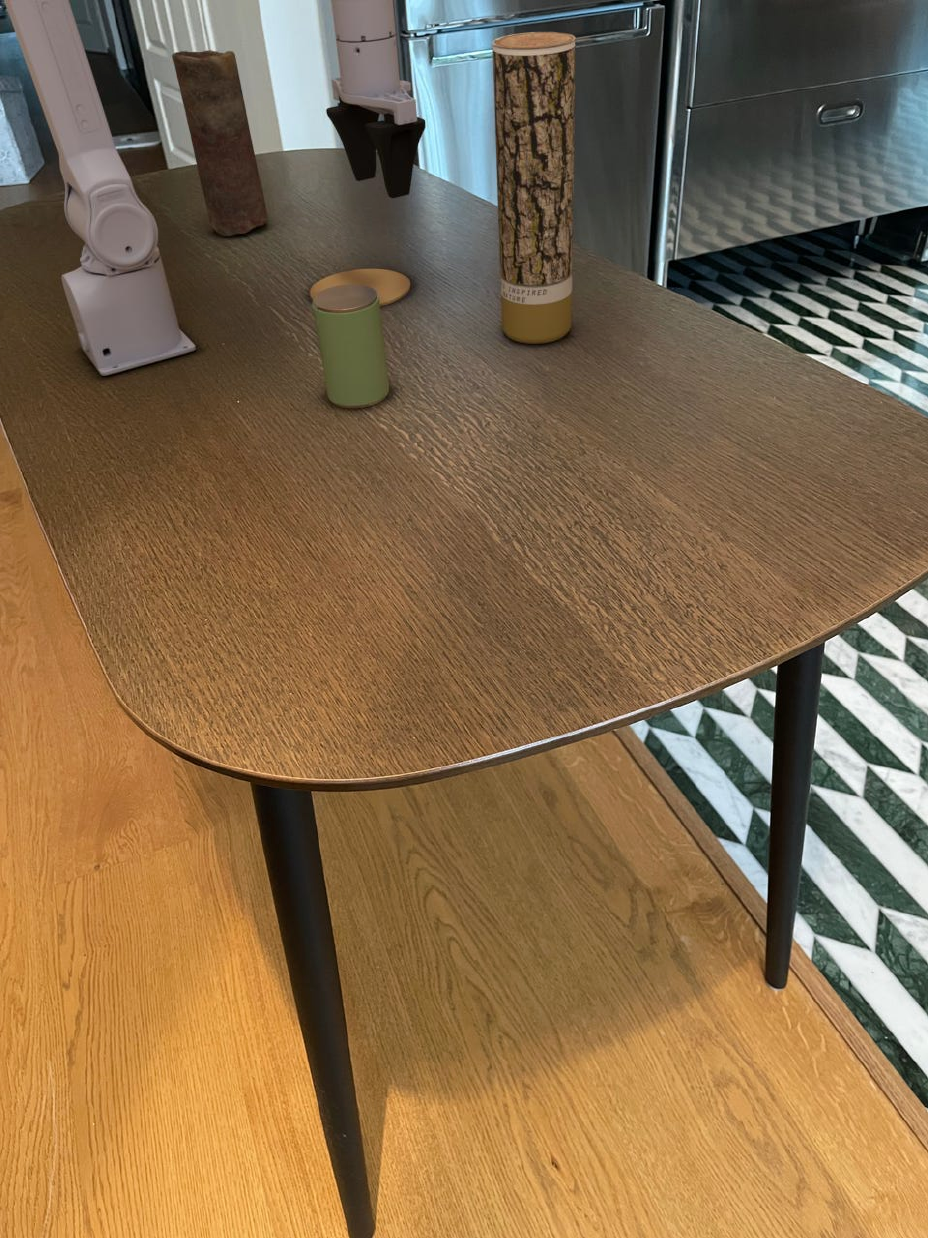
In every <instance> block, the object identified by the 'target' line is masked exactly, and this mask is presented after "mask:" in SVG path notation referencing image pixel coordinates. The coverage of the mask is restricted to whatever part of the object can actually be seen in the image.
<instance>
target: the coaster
mask: <svg viewBox="0 0 928 1238" xmlns="http://www.w3.org/2000/svg"><path fill="white" fill-rule="evenodd" d="M351 284H352V285H364V286H368V287H371V288H373V289H374V290H375V291H376V292H377V295H378V297H379V305H380V307H383V306H384V307H385V306H386V305H390V304H392V303H396V302H397V301H399V300H401V299H402V298H404V297H405V296H406V295H407V294H408V293H409V292H410V290H411V281H410V279H409V277H407V276H406V275H404V274H403V273H400V272H398V271H394V270H390V269H384V268H357V269H350V270H345V271H341V272H337V273H334V274H333V273H332V274H331V275H328V276H326V277H323V278H321V279H320V280H318V281H317V282H315V283H314V284H313V285H312V286H311V288H310V290H309V296H310V300H311V301H312V302H313V298H314V296H315V295H316V294H318V293H319V292H321V291H323V290H325V289H328V288H331V287H335V286H340V285H351Z"/></svg>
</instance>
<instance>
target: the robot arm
mask: <svg viewBox="0 0 928 1238" xmlns="http://www.w3.org/2000/svg"><path fill="white" fill-rule="evenodd" d="M3 2H4V5H5V7H6V10H7V13H8V17H9V18H10V21H11V25H12V27H13V29H14V33H15V36H16V37H17V41H18V44H19V46H20V49H21V52H22V55H23V57H24V58H23V59H24V61H25V63H26V66H27V69H28V72H29V74H30V77H31V81H32V83H33V86H34V88H35V91H36V95H37V97H38V100H39V103H40V105H41V108H42V111H43V114H44V116H45V119H46V123H47V125H48V128H49V132H50V133H51V136H52V139H53V142H54V144H55V147H56V150H57V152H58V160H59V161H58V162H59V171H60V174H61V177H62V180H63V184H64V189H65V194H64V203H63V211H64V215H65V219H66V222H67V223H68V225H69V227H70V228H71V230H72V231H73V232H74V234H75V235H77V236H78V237H79V238H80V239H82V240H83V241H84V243H85V244H84V245H83V247H82V252H81V257H79V258H80V259H79V260H80V264H81V266H79V267H78V268H76V269H74V270H72V271H69V272H66V273H64V274H62V275H61V284H62V288H63V291H64V295H65V297H66V301H67V303H68V306H69V310H70V312H71V315H72V319H73V321H74V324H75V328H76V331H77V336H78V340H79V343H80V345H81V349H82V350H83V352H84V354H86V356H87V357H88V359H89V360H90V362H91V363H92V365H93V366H94V368H95V369H96V371H98V373H99V374H100V375H101V376H103V377H106V376H110V375H114V374H117V373H121V372H124V371H128V370H131V369H132V370H133V369H135V368H138V367H142V366H147V365H149V364H153V363H155V362H160V361H163V360H167V359H171V358H175V357H177V356H181V355H185V354H188V353H191V352H192V353H193V352H195V351H196V349H197V348H196V345H195V344H194V342H193V341H192V340H191V339H190V338H189V337H188V336H187V335H186V333H184V332H183V331H182V330H181V329H180V326H179V323H178V318H177V315H176V312H175V311H176V310H175V307H174V302H173V299H172V295H171V291H170V288H169V283H168V280H167V276H166V272H165V268H164V264H163V260H162V256H161V254H160V249H159V247H158V242H159V229H158V228H159V227H158V225H157V221H156V219H155V217H154V215H153V214H152V212H151V211H150V210H149V209H148V208H147V206H146V205H145V204H143V202H142V201H141V200H140V198H139V197H138V195H137V193H136V190H135V187H134V184H133V181H132V178H131V175H130V174H129V172H128V170H127V168H126V166H125V164H124V162H123V160H122V158H121V156H120V154H119V152H118V149H117V148H116V144H115V141H114V138H113V135H112V132H111V128H110V125H109V121H108V119H107V116H106V113H105V109H104V107H103V104H102V100H101V97H100V94H99V91H98V88H97V85H96V81H95V79H94V75H93V71H92V69H91V65H90V63H89V60H88V56H87V52H86V50H85V47H84V44H83V40H82V37H81V35H80V32H79V28H78V25H77V22H76V18H75V16H74V15H75V14H74V12H73V10H72V6H71V3H70V0H3ZM330 2H331V10H332V17H333V26H334V33H335V43H336V50H337V51H336V52H337V59H338V67H339V68H338V69H339V76H337V77H333V78H331V79H330V82H331V87H332V95H333V100H335V101H339V102H337V105H335V106H331V107H328V108H326V109H325V112H326V116H327V117H328V119H329V120H330V122H331V124H332V126H334V128H335V130H336V132H337V135H338V137H339V138H340V140H341V143H342V146H343V147H344V148H343V149H344V151H345V153H346V156H347V160H348V162H349V166H350V169H351V171H352V174H353V176H354V179H355V181H357V182H361V181H367V180H370V179H374V178H376V174H377V156H378V159H379V163H380V168H381V173H382V179H383V183H384V187H385V190H386V193H387V196H388V197H389V198H390V199H397V198H401V197H404V196H409V195H410V191H411V185H412V179H413V178H412V177H413V169H414V165H415V164H414V163H415V158H416V154H417V150H418V147H419V144H420V141H421V138H422V136H423V134H424V132H425V130H426V128H427V127H426V126H427V125H426V119H424V118H422V117H419V116H418V111H417V100H416V98H414V97H411V96H410V95H409V93H408V92H410V91H411V90H412V84H411V82H410V81H406V80H402V79H400V67H399V54H398V44H397V31H396V21H395V9H394V0H330ZM380 115H382V116H383V119H382V120H379V119H380Z"/></svg>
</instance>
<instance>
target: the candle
mask: <svg viewBox="0 0 928 1238" xmlns="http://www.w3.org/2000/svg"><path fill="white" fill-rule="evenodd" d="M171 57H172V62H173V65H174V71H175V74H176V79H177V83H178V88H179V91H180V96H181V101H182V104H183V105H182V106H183V108H184V114H185V117H186V122H187V127H188V130H189V135H190V140H191V144H192V149H193V155H194V158H195V162H196V168H197V172H198V176H199V180H200V185H201V189H202V195H203V199H204V203H205V207H206V211H207V216H208V220H209V224H210V227H211V228H212V230H214V231H215V232H216V233H217V234H218V235H219V236H221V237H233V236H236V235H245V234H247V233H249V232H250V231H251V230H252V229H256V228H259V227H262V226H263V225H264V224H265V223H266V222H267V220H268V212H267V205H266V201H265V197H264V191H263V186H262V181H261V176H260V172H259V168H258V163H257V157H256V153H255V150H254V149H255V147H254V144H253V138H252V134H251V129H250V124H249V118H248V114H247V109H246V104H245V98H244V94H243V93H244V92H243V88H242V84H241V83H242V82H241V79H240V74H239V68H238V63H237V58H236V54H235V52H234V51H233V50H232V51H231V50H227V51H225V52H220V51H217V50H212V49H211V50H210V49H209V50H204V51H203V50H202V51H178V52H177V51H176V52H174V53H173V54H172V55H171Z"/></svg>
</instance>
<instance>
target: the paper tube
mask: <svg viewBox="0 0 928 1238" xmlns="http://www.w3.org/2000/svg"><path fill="white" fill-rule="evenodd" d="M575 40H576V36H575V35H573V34H570V33H567V32H557V31H531V32H520V33H512V34H508V35H503V36H500V37H497V38H495V39H494V40H492V45H493V46H492V52H491V53H492V77H493V78H492V79H493V81H492V82H493V107H494V136H495V137H494V138H495V139H494V140H495V166H496V167H495V169H496V170H495V171H496V193H497V194H496V195H497V200H496V201H497V224H498V226H497V227H498V228H497V229H498V256H499V257H498V258H499V283H500V284H499V285H500V288H499V289H500V307H501V309H500V311H501V328H502V331H503V333H504V334H505V336H506V337H507V338H508V339H511V340H512V341H515V342H517V343H521V344H525V345H526V344H529V345H542V344H548V343H552V342H556V341H557V340H558V341H559V340H560V339H562V338H563V337H565V336H566V335H567V334H568V333H569V331H570V330H571V327H572V308H573V307H572V305H573V304H572V301H573V300H572V299H573V295H572V294H573V261H574V260H573V253H574V252H573V251H574V250H573V248H574V187H575V186H574V184H575V183H574V182H575V181H574V180H575V172H574V171H575V123H576V121H575V118H576V117H575V116H576V114H575V113H576V112H575V111H576V54H577V53H576V50H577V49H576V47H577V45H576V41H575Z"/></svg>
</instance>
